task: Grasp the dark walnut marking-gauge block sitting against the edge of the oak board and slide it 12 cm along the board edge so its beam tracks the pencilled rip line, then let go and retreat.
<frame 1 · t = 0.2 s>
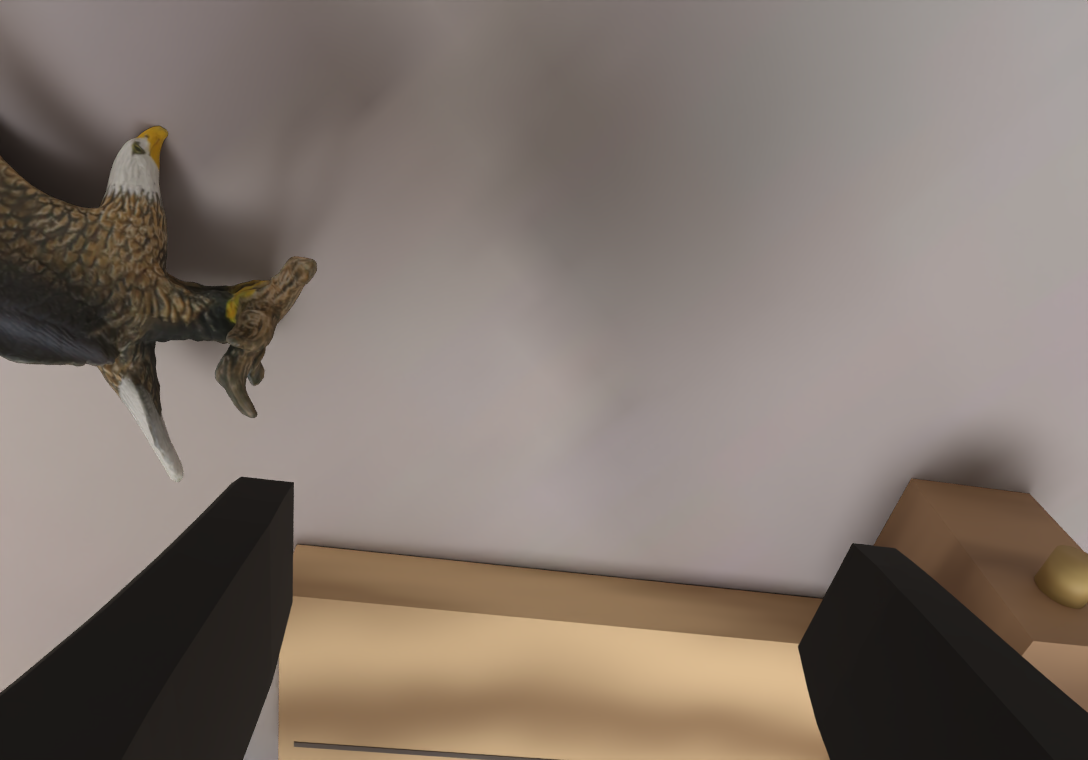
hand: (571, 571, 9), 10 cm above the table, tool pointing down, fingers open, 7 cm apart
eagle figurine: (124, 201, 17), on the table
board: (635, 680, 26), on the table
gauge: (933, 545, 24), on the table
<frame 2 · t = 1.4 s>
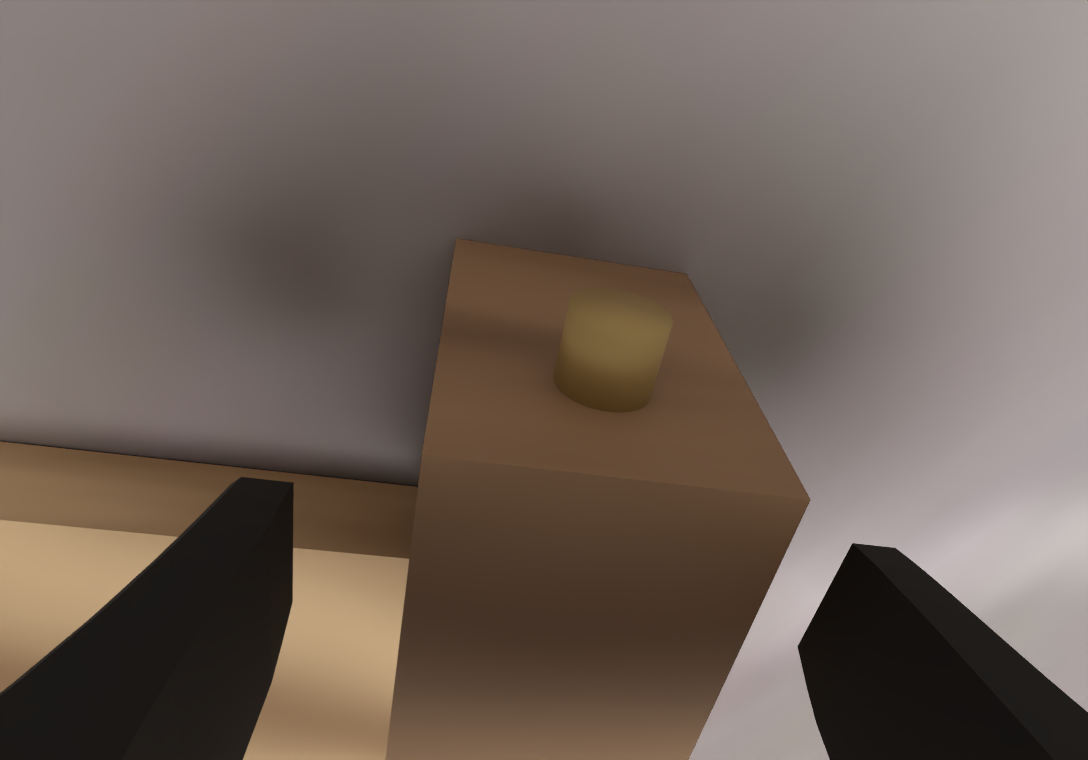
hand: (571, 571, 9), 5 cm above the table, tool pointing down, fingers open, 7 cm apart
board: (135, 630, 16), on the table
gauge: (547, 380, 14), on the table
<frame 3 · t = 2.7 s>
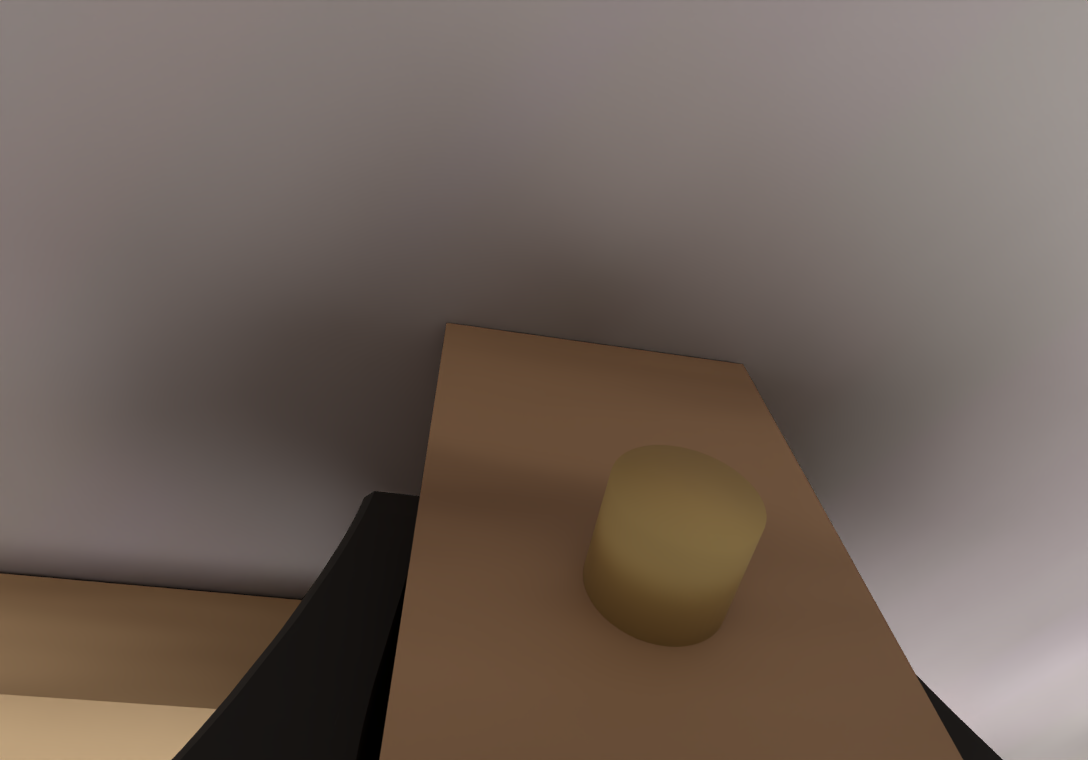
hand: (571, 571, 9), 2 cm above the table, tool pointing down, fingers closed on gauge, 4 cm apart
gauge: (562, 490, 11), on the table, touching gripper
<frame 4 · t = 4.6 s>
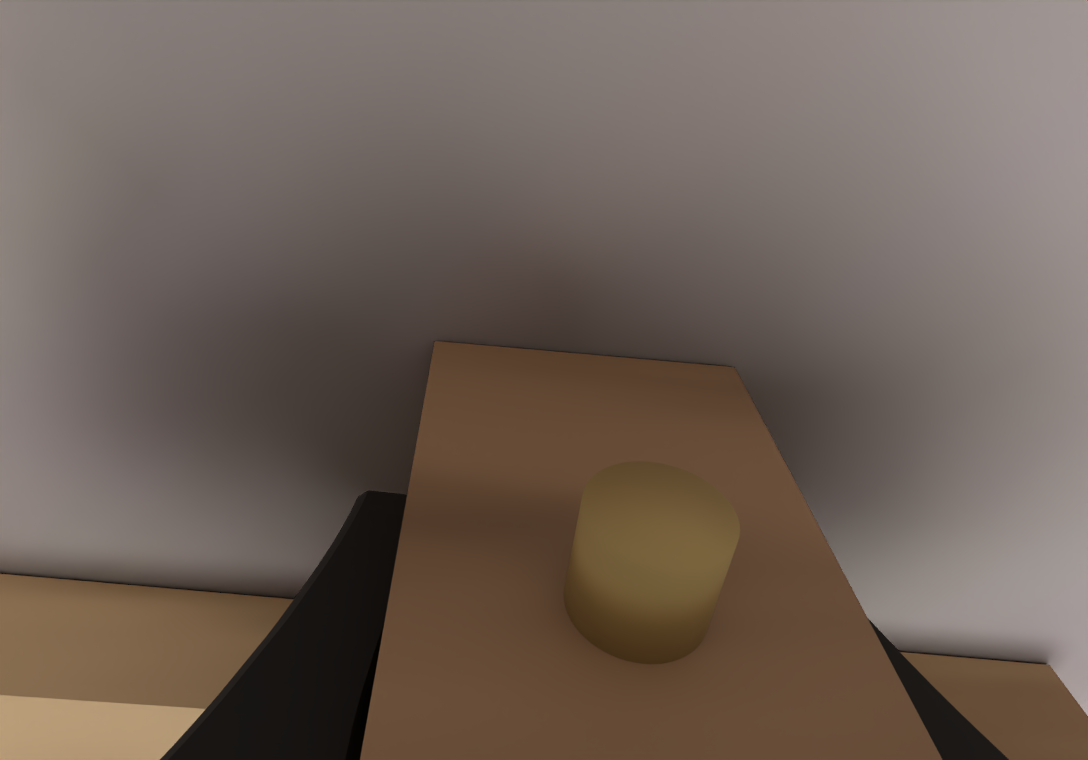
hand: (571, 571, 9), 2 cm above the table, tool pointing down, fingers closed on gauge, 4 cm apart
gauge: (562, 500, 11), on the table, touching gripper
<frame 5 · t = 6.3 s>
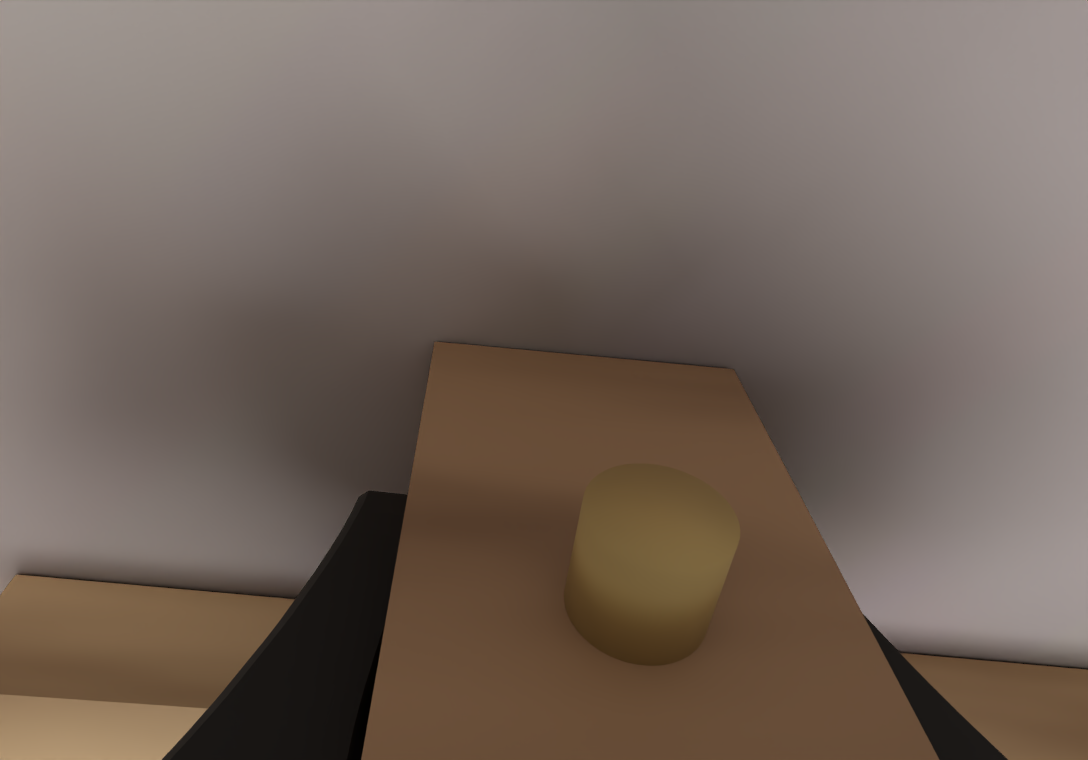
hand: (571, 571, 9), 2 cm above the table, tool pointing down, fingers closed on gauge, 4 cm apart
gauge: (560, 501, 11), on the table, touching gripper
when the fingers open (2 cm above the table, at t = 7.3 s): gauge stays where it is, on the table.
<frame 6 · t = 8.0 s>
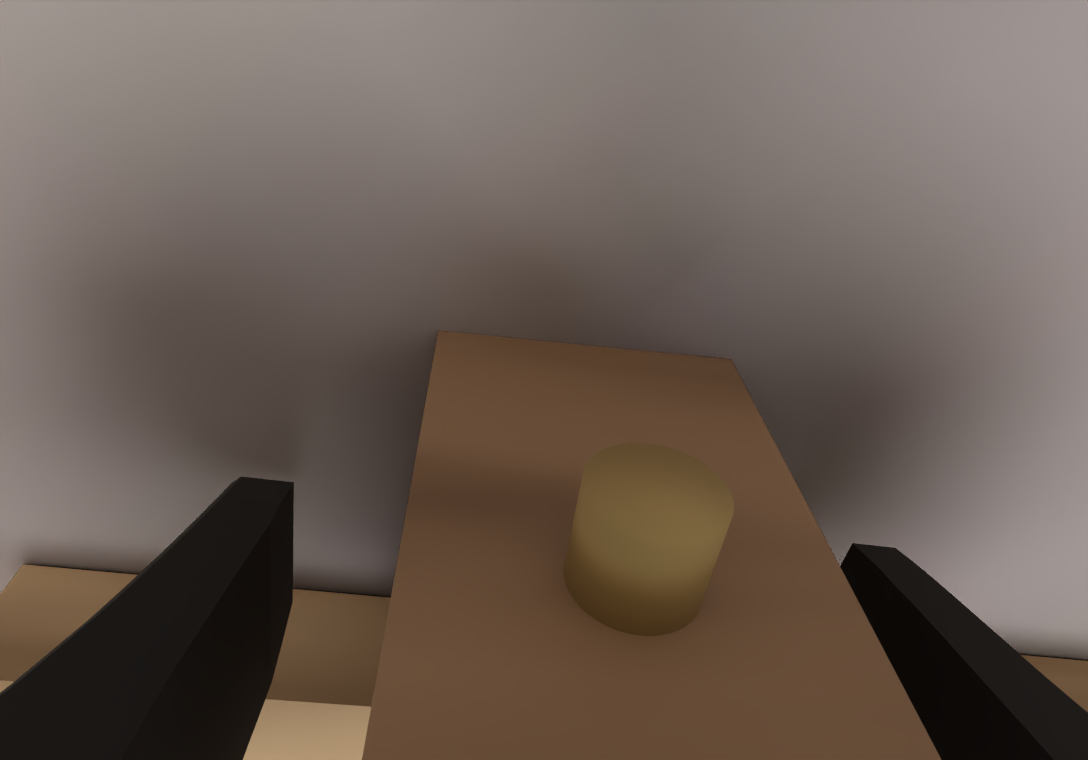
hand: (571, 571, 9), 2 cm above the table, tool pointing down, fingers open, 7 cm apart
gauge: (560, 488, 11), on the table
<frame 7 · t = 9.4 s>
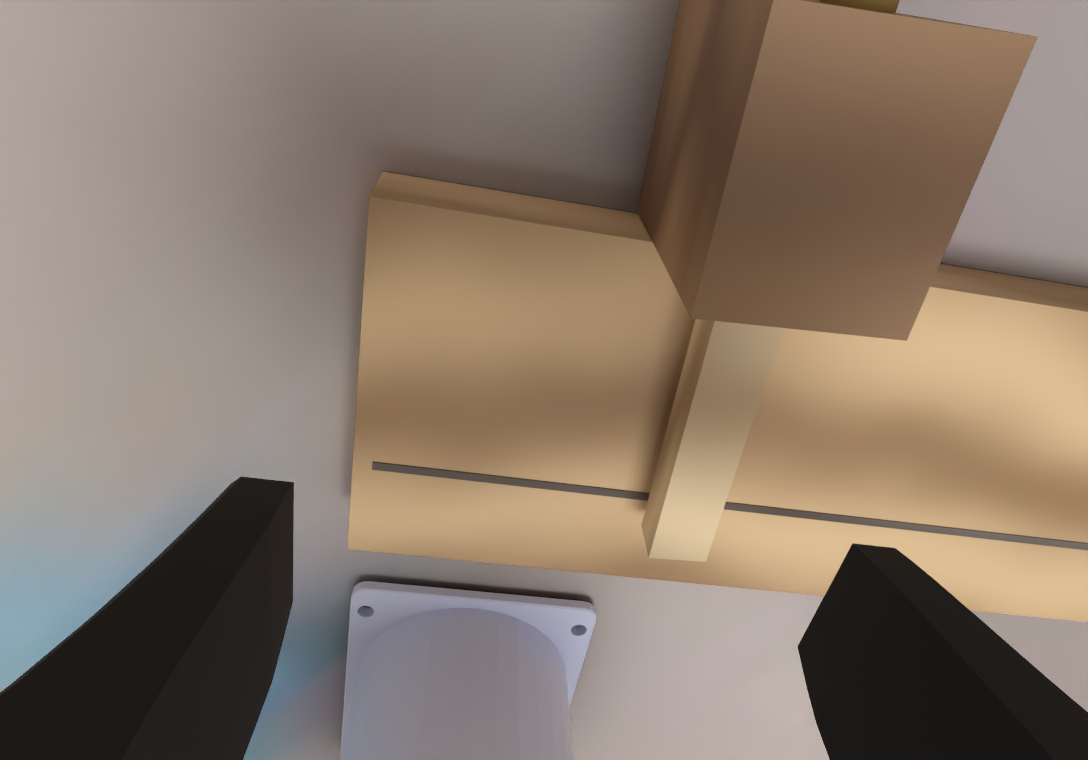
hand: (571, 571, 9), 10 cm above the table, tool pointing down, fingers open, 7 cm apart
board: (792, 413, 21), on the table
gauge: (743, 115, 17), on the table
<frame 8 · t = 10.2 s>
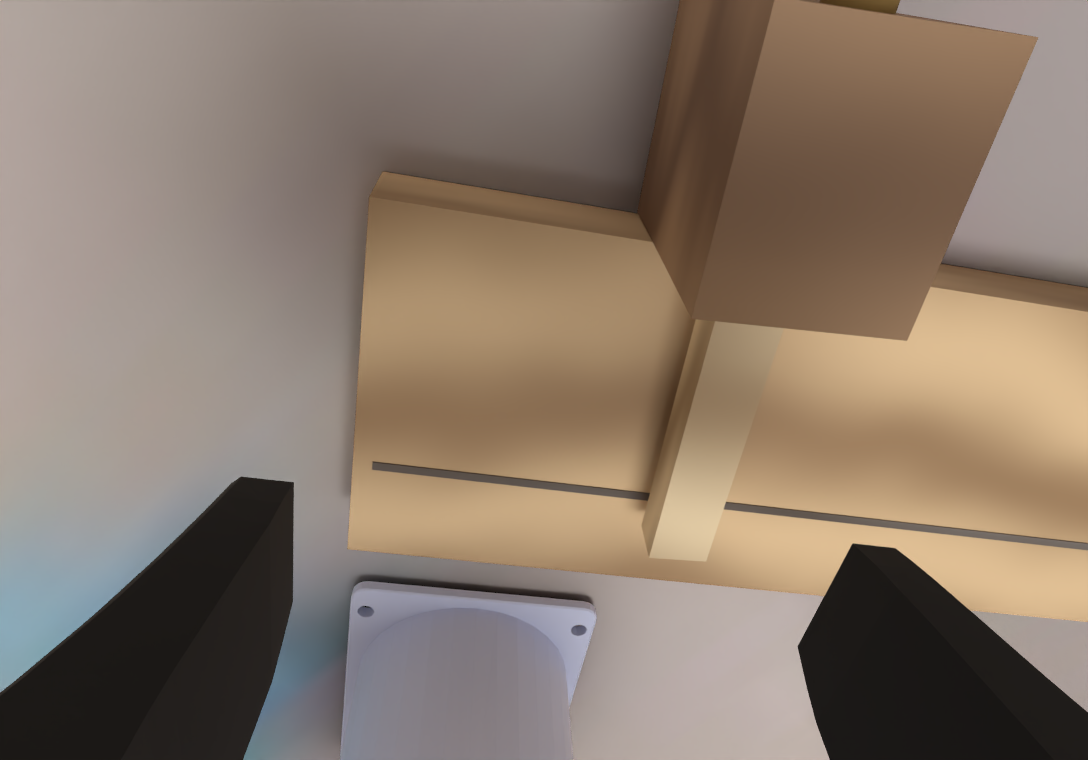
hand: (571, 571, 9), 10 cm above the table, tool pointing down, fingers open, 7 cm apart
board: (792, 413, 21), on the table
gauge: (743, 115, 17), on the table
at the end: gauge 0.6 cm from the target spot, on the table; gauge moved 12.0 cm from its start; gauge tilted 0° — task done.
